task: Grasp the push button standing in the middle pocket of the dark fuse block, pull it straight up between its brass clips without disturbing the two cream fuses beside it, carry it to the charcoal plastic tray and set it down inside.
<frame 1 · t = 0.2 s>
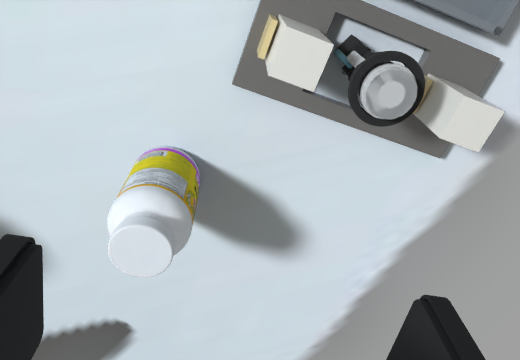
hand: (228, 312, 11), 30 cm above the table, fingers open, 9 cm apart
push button: (361, 67, 39), on the table
fuse block: (362, 68, 39), on the table
supplement bottle: (168, 173, 43), on the table
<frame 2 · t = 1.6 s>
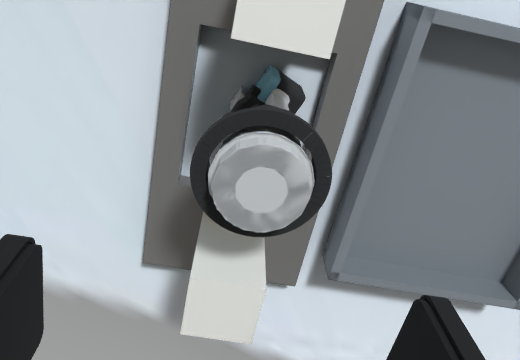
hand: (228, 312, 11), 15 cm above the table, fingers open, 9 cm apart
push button: (252, 115, 25), on the table
fuse block: (252, 116, 25), on the table
tray: (462, 165, 26), on the table
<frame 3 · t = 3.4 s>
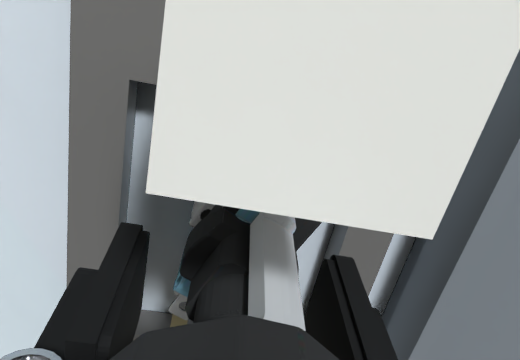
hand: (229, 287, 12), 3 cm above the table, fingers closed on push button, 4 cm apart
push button: (232, 218, 15), on the table, touching gripper
fuse block: (232, 220, 15), on the table
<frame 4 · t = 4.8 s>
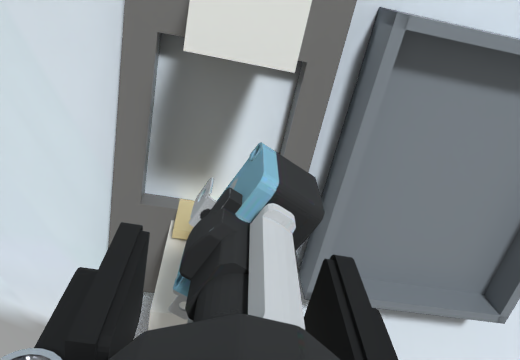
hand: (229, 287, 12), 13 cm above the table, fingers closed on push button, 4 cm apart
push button: (232, 217, 15), point 9 cm above the table, touching gripper
fuse block: (219, 129, 23), on the table
tray: (440, 176, 25), on the table
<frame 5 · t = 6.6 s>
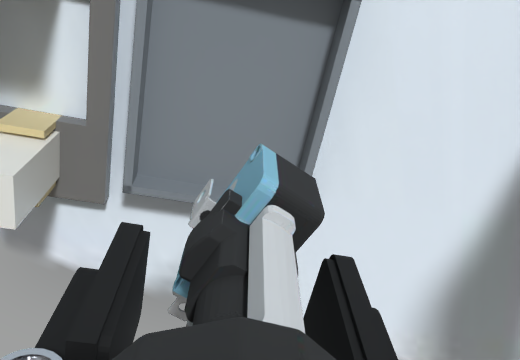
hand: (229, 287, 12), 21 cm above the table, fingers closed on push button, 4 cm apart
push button: (231, 219, 15), point 17 cm above the table, touching gripper
fuse block: (38, 46, 28), on the table
tray: (232, 90, 30), on the table
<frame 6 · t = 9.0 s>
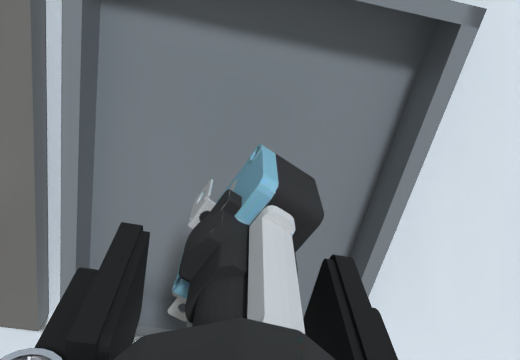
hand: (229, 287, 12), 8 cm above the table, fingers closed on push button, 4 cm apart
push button: (231, 219, 15), point 4 cm above the table, touching gripper
tray: (239, 165, 19), on the table
when the fingers open (5 cm above the table, at t = 10.0 s): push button drops 1 cm, resting on tray.
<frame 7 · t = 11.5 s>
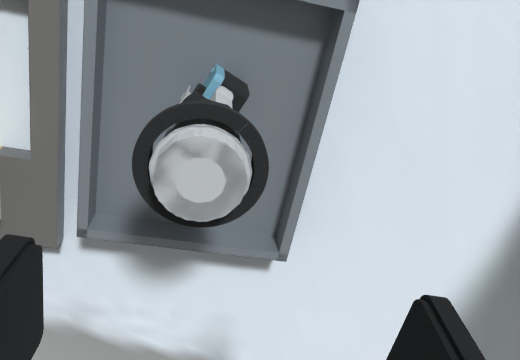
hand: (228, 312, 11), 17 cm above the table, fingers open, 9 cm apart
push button: (201, 113, 25), resting on tray
tray: (205, 115, 26), on the table
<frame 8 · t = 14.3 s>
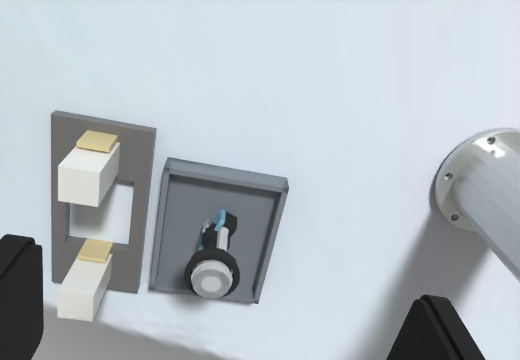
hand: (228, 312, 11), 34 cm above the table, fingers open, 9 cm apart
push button: (214, 229, 50), resting on tray
fuse block: (102, 207, 49), on the table
tray: (216, 229, 50), on the table
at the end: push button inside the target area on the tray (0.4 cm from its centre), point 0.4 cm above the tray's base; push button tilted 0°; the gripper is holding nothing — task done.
